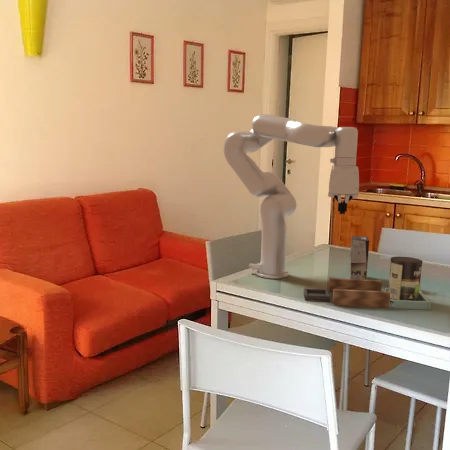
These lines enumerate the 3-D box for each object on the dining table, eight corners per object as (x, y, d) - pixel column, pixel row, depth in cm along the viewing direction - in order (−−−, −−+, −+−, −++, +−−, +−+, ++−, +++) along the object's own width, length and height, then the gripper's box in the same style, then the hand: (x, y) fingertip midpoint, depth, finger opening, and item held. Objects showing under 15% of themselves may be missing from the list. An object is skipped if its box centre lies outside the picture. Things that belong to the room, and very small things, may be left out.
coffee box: (366, 282, 208) (369, 240, 205) (349, 281, 209) (352, 239, 206) (365, 276, 216) (368, 236, 214) (349, 275, 218) (351, 235, 215)
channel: (333, 304, 180) (333, 290, 179) (328, 291, 195) (329, 278, 194) (389, 307, 178) (390, 292, 178) (380, 294, 193) (381, 280, 192)
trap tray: (304, 300, 184) (305, 295, 184) (303, 293, 192) (303, 288, 192) (329, 301, 183) (329, 296, 183) (326, 294, 191) (327, 289, 191)
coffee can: (422, 299, 188) (426, 259, 186) (413, 306, 179) (417, 264, 177) (392, 294, 194) (396, 254, 192) (382, 300, 185) (386, 259, 183)
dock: (393, 307, 178) (394, 300, 178) (384, 294, 193) (385, 287, 193) (430, 309, 177) (430, 302, 177) (418, 295, 192) (418, 289, 192)
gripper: (324, 162, 191) (321, 214, 194) (368, 163, 189) (364, 216, 193) (322, 161, 198) (320, 211, 201) (364, 162, 197) (361, 212, 200)
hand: (342, 213), depth 197 cm, fingers closed
